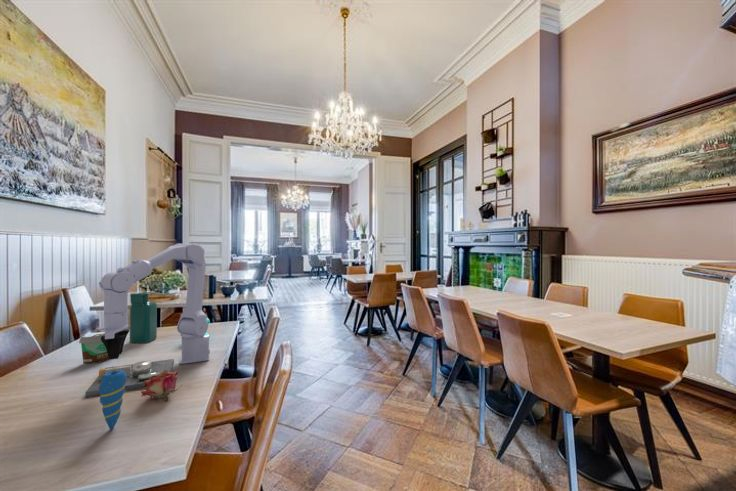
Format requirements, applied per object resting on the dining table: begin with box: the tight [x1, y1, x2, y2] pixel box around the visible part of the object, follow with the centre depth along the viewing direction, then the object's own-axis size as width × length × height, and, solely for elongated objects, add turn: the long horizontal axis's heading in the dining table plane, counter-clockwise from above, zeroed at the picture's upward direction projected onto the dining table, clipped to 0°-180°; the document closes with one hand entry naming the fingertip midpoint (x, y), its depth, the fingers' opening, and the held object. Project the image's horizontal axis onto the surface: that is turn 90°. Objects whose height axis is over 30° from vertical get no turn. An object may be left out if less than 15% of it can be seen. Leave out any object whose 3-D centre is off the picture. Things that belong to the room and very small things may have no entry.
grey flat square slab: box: [84, 358, 175, 398], centre depth 105 cm, size 20×20×3 cm
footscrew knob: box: [98, 360, 153, 379], centre depth 103 cm, size 14×5×3 cm, turn 117°
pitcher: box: [128, 291, 158, 344], centre depth 145 cm, size 10×8×22 cm
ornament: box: [98, 365, 127, 430], centre depth 76 cm, size 5×5×15 cm
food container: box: [78, 332, 109, 365], centre depth 121 cm, size 12×6×10 cm, turn 168°
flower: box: [140, 370, 183, 402], centre depth 91 cm, size 10×9×8 cm
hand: (115, 356), depth 98 cm, fingers open, 3 cm apart
